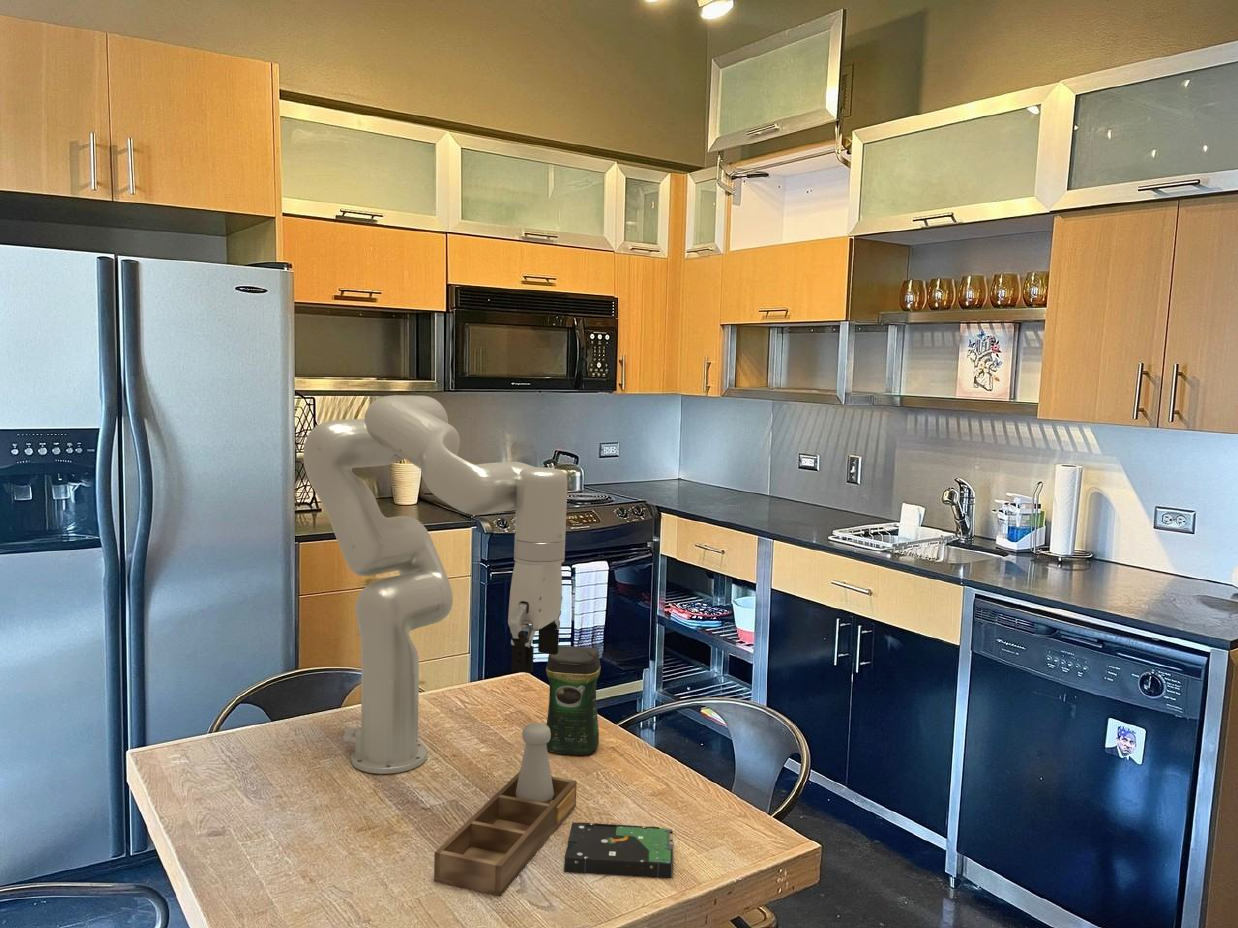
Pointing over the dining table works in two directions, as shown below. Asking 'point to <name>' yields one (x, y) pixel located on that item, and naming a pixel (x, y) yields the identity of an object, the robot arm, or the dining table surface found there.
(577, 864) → the disk drive
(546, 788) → the salt shaker
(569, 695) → the coffee jar
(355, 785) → the dining table surface
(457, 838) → the wooden compartment tray
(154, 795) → the dining table surface
